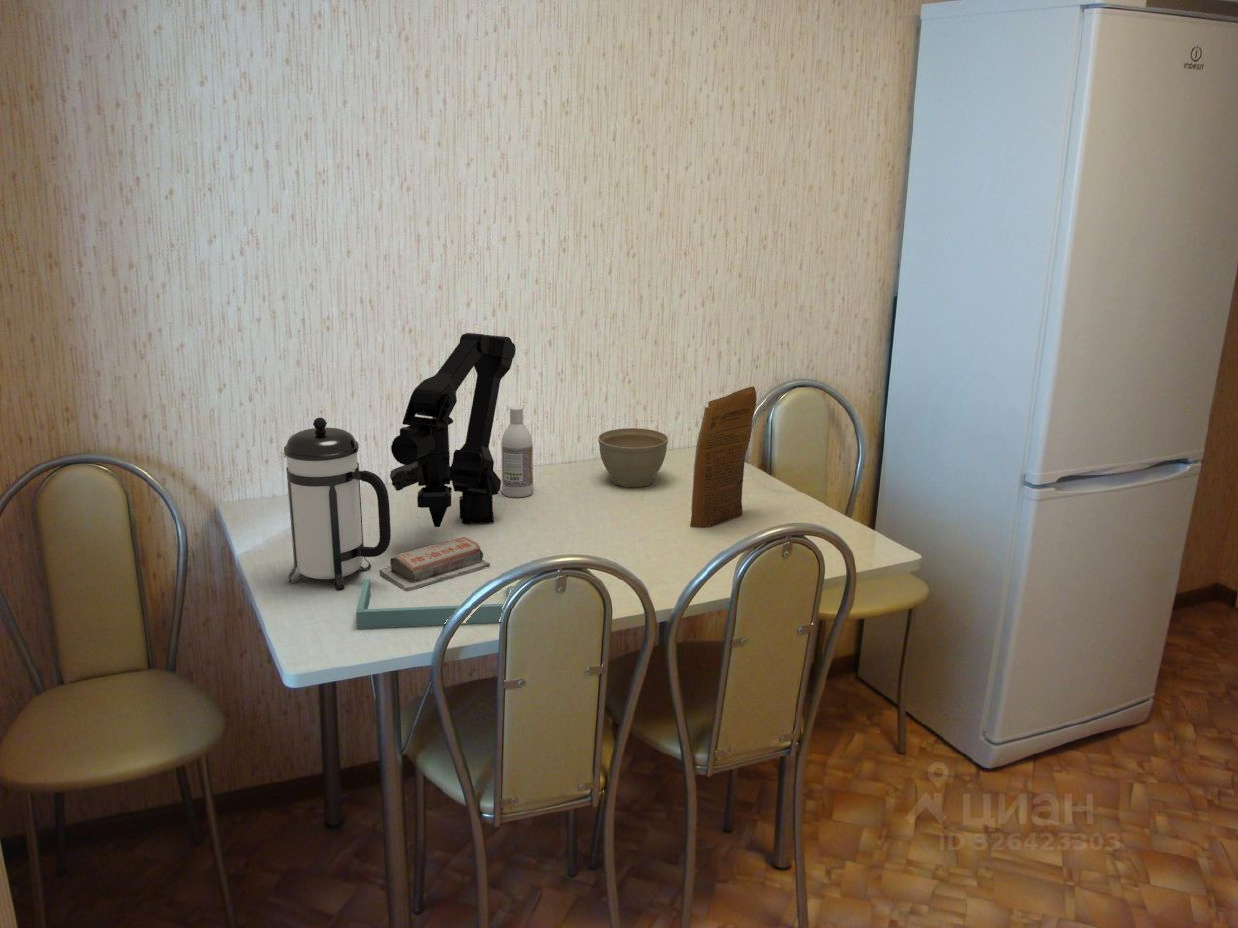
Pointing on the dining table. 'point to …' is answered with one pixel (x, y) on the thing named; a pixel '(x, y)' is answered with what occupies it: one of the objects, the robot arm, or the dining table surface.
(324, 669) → the dining table surface
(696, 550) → the dining table surface
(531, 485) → the bath foam
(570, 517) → the dining table surface
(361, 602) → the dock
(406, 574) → the packaged product
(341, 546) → the coffee press
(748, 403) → the pancake mix bag
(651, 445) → the planter bowl
